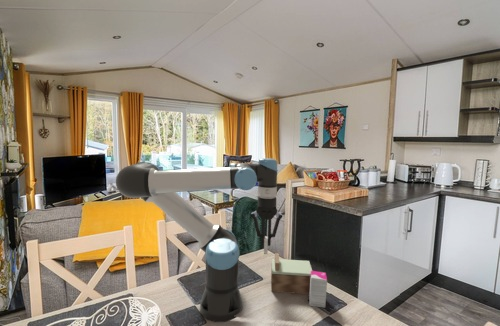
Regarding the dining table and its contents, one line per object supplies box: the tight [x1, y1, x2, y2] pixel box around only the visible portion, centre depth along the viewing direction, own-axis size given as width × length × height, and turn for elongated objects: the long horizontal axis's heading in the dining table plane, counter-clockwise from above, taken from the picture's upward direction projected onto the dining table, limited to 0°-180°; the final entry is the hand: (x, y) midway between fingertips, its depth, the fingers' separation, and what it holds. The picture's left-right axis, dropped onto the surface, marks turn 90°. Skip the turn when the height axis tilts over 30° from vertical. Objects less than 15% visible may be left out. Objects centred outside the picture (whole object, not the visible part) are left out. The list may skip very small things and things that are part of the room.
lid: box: [271, 252, 313, 276], centre depth 107 cm, size 16×11×4 cm
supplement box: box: [308, 270, 328, 308], centre depth 96 cm, size 6×6×12 cm
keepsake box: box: [270, 268, 310, 295], centre depth 107 cm, size 16×11×8 cm
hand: (265, 252), depth 107 cm, fingers closed
